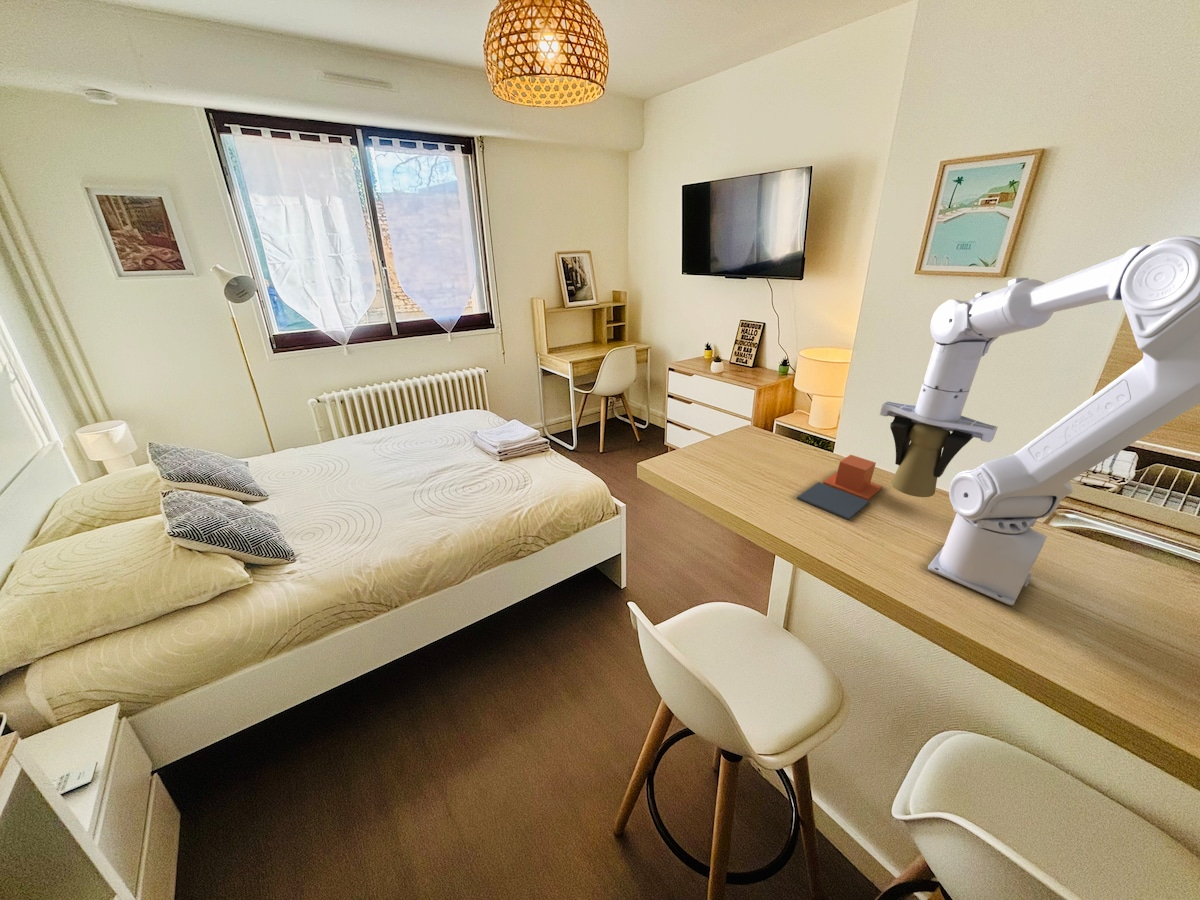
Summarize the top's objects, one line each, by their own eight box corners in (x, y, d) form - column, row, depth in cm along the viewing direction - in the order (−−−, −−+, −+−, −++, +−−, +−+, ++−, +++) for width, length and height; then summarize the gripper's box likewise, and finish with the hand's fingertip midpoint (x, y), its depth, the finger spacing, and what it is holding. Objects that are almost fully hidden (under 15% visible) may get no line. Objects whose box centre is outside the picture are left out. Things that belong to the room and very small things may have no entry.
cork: (933, 501, 71) (956, 435, 67) (888, 489, 75) (907, 425, 70) (936, 485, 76) (958, 422, 71) (893, 475, 79) (912, 414, 74)
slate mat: (868, 503, 81) (869, 501, 81) (848, 520, 76) (849, 518, 76) (818, 483, 87) (818, 481, 87) (796, 498, 82) (797, 496, 82)
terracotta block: (869, 484, 86) (876, 462, 84) (859, 492, 83) (865, 470, 81) (845, 475, 89) (850, 454, 87) (834, 483, 86) (839, 461, 84)
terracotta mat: (882, 488, 85) (882, 486, 85) (867, 500, 82) (868, 498, 81) (838, 472, 91) (838, 470, 91) (822, 483, 87) (823, 481, 87)
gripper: (1014, 392, 65) (981, 477, 71) (901, 371, 75) (880, 447, 81) (1002, 403, 61) (968, 492, 67) (884, 379, 71) (862, 459, 77)
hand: (918, 468), depth 74 cm, fingers closed on cork, 5 cm apart
